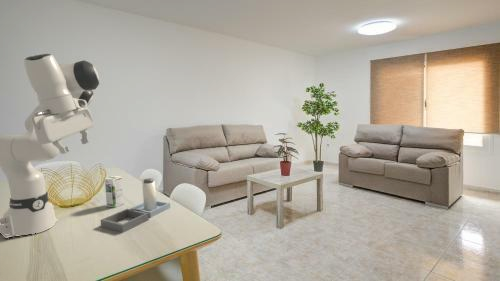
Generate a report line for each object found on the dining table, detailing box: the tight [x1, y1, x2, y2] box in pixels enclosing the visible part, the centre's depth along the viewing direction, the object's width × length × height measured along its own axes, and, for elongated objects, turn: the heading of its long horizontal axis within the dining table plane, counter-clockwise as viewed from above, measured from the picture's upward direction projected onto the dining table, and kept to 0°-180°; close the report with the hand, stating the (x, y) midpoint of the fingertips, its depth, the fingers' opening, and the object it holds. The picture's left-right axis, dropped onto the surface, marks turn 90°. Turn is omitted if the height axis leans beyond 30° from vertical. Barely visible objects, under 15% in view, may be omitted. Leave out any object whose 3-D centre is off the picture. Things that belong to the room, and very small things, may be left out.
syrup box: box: [104, 175, 125, 208], centre depth 135 cm, size 6×6×14 cm
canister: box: [141, 177, 157, 211], centre depth 127 cm, size 6×6×14 cm
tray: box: [129, 200, 171, 218], centre depth 128 cm, size 13×13×2 cm
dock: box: [100, 208, 150, 234], centre depth 114 cm, size 13×13×3 cm
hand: (76, 147), depth 89 cm, fingers open, 8 cm apart
